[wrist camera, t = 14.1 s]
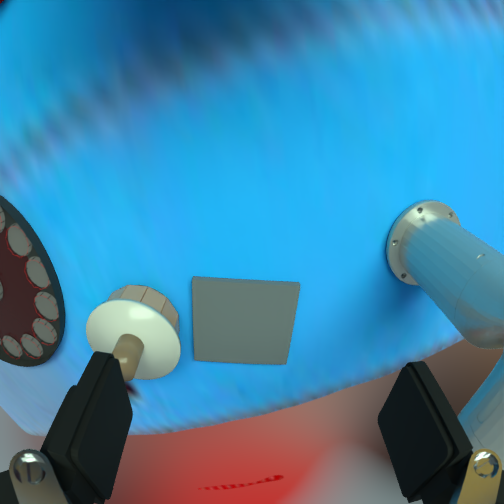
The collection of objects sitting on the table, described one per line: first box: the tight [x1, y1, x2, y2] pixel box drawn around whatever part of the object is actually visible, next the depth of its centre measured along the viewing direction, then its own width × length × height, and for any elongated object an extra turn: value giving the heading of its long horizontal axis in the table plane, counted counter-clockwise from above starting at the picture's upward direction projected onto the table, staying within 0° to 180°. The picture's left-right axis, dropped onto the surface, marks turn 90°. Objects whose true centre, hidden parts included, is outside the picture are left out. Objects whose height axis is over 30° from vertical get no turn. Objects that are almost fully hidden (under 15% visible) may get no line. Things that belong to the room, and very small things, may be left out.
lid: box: [86, 299, 181, 381], centre depth 36 cm, size 13×13×6 cm
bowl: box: [107, 285, 180, 334], centre depth 41 cm, size 11×11×6 cm
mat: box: [192, 276, 300, 364], centre depth 44 cm, size 14×14×1 cm
